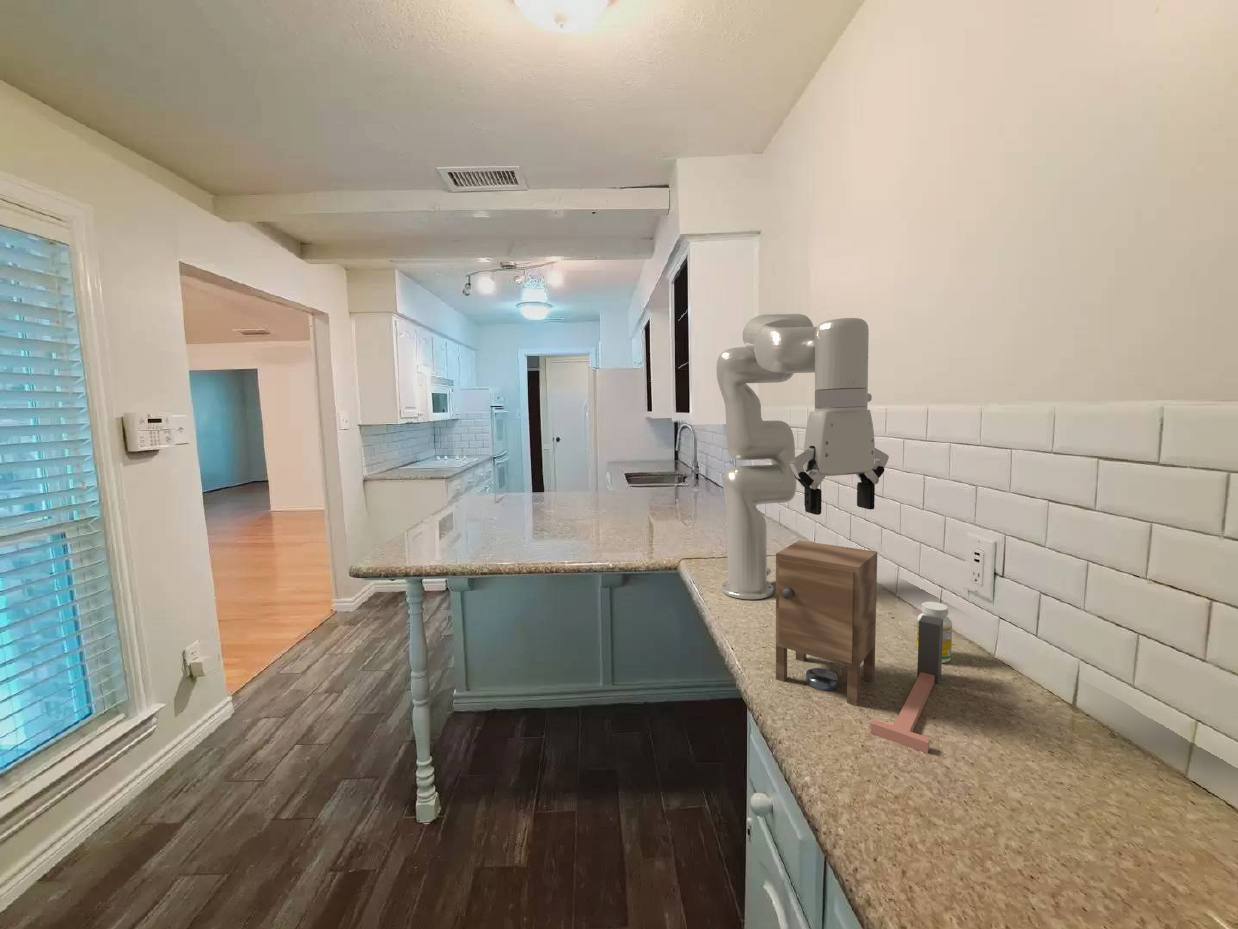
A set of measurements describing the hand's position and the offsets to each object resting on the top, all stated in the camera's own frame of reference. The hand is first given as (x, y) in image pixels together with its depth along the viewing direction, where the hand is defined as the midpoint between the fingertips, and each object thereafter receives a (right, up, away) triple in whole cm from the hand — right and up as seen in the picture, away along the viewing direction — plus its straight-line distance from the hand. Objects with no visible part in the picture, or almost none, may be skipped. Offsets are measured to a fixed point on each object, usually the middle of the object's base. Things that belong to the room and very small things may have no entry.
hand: (839, 510), depth 81 cm
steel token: (-1, -30, +5) cm, 30 cm away
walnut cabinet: (0, -29, +6) cm, 30 cm away
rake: (+11, -30, -2) cm, 32 cm away
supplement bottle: (+22, -28, +12) cm, 38 cm away
